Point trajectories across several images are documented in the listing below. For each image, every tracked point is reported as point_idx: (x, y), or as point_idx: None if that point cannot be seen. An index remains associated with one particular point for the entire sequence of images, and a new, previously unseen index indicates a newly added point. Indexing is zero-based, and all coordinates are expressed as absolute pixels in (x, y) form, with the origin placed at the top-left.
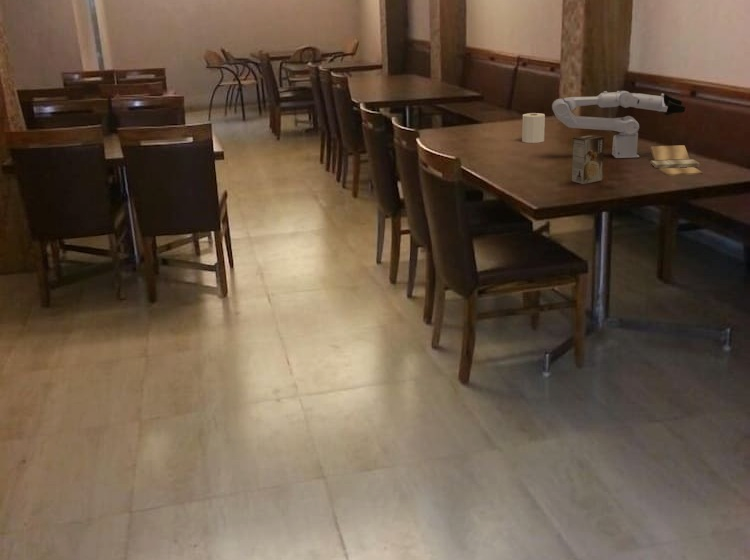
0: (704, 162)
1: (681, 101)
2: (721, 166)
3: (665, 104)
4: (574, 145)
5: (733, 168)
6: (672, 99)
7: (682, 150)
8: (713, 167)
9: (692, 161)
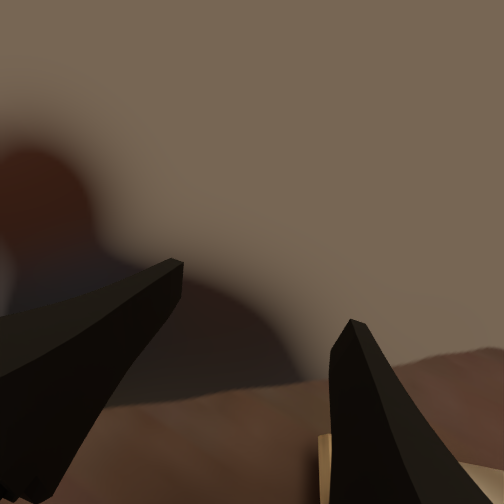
0: None
1: (181, 264)
2: (458, 380)
3: (62, 441)
4: None
5: (481, 360)
6: (112, 321)
7: None
8: (486, 416)
9: (482, 490)
